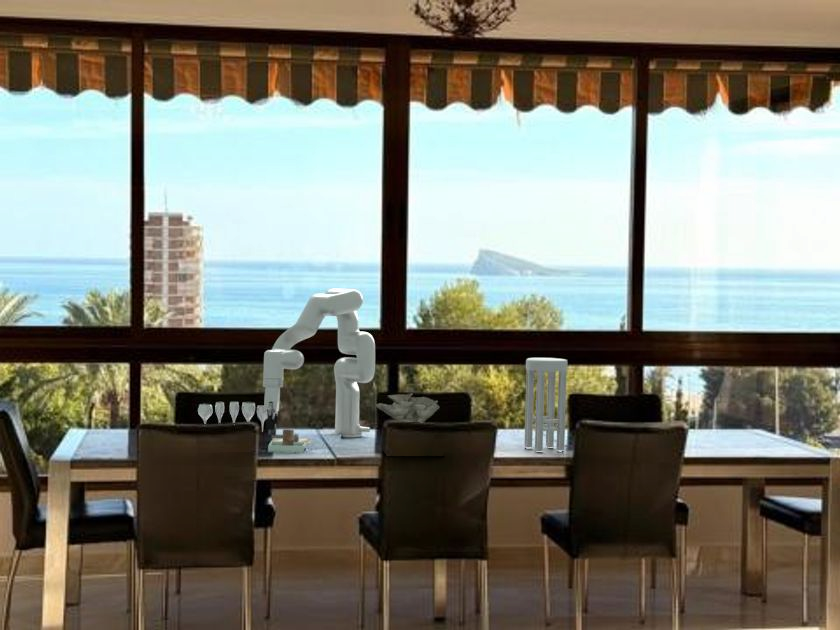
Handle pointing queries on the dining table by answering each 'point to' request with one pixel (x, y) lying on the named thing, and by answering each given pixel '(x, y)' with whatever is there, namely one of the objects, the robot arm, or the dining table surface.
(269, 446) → the tray
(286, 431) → the peg
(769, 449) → the dining table surface
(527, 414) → the stool
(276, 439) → the plate
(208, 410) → the goblet set
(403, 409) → the coral
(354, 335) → the robot arm
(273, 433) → the crank
